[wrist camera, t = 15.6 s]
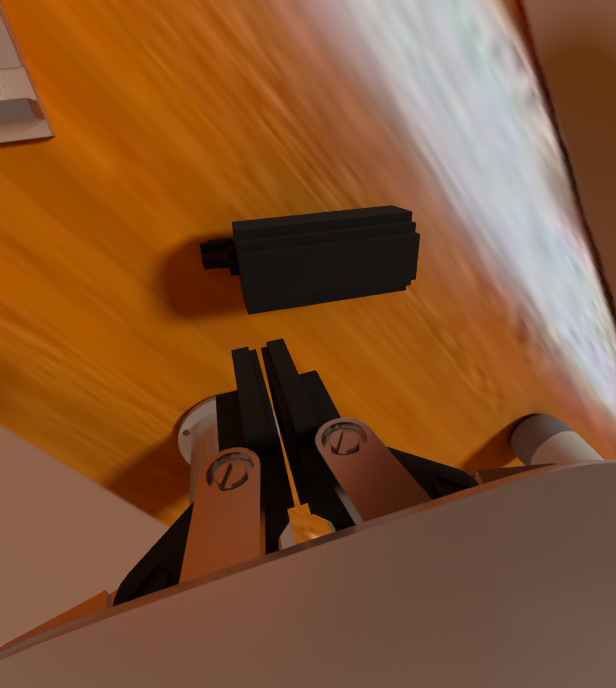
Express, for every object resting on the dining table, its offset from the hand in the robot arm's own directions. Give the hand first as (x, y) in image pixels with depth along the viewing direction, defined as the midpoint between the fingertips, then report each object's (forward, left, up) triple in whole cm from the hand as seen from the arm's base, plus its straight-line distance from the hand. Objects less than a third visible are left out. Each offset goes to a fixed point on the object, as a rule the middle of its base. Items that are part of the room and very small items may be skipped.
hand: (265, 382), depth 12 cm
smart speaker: (-42, -43, -27) cm, 66 cm away
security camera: (-3, -7, -27) cm, 28 cm away
